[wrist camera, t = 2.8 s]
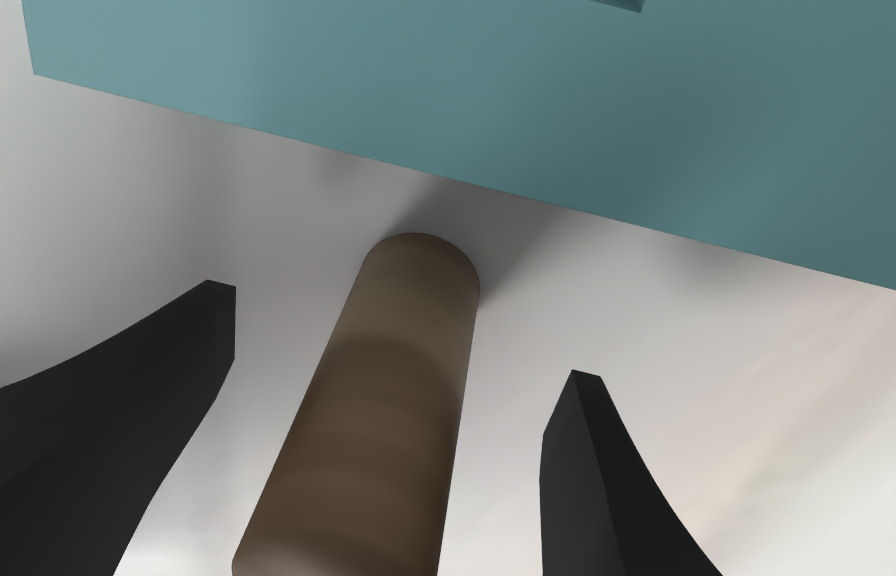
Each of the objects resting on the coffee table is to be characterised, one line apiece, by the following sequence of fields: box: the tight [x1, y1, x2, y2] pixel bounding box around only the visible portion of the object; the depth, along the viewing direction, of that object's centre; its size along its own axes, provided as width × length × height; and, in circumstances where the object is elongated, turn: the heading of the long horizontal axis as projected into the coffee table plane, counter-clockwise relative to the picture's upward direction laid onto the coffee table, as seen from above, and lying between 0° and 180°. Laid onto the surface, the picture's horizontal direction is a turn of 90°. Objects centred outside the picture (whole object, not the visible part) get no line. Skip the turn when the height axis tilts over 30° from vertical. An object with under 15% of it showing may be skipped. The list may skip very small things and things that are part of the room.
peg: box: [232, 233, 479, 576], centre depth 13 cm, size 3×3×8 cm
